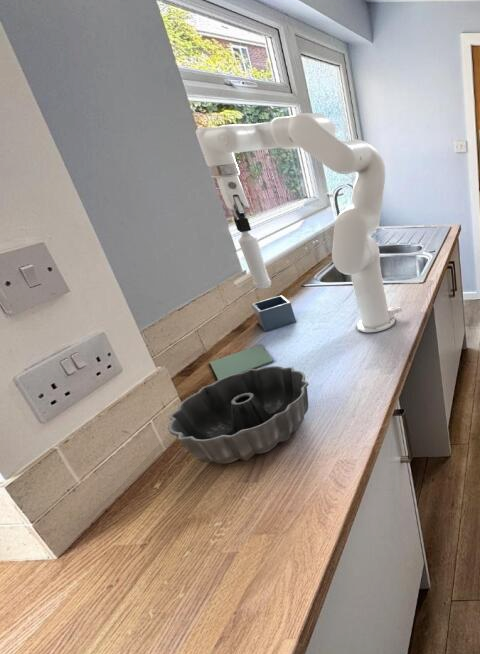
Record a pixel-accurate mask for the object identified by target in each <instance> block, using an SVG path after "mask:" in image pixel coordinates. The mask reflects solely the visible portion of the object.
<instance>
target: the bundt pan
mask: <svg viewBox="0 0 480 654" xmlns="http://www.w3.org/2000/svg"><path fill="white" fill-rule="evenodd" d="M309 385H310V384H309V382H308V381H307V380H306V374H305V373H304V372H303V371H301V370H295V369H294V367H293V366H289V367H283V366H278V365H272V366H265V367H264V366H263V367H259V368H256V369H249V370H247V371H245V372H243V373H237V374H233V375H230V376H227V377H224V378H222V379H220V380H218V379H217V380H216V381H215V382H213V383H211V384H208V385H205V386H202V387H201V388H200V389H199V390H198V392H196V393H193V394H191V395H190V396H188V397H186V398H185V399H184V400H183V401H182V402H180V404H179V405H178V407H177V410H176V411H174V412H172V414H170V415H169V416H168V418H169V420H170V423H168V426H167V430H168V432H169V433H170V434H171V435H172V436H175V437H176V438H177V439H178V441H179V442H180V443H181V444H182V446H184V448H185V449H186V450H187V451H188V452H189V453H190V454H192V455H193V456H194V457H195V459H196V460H198V461H199V462H202V463H212V462H213V463H217V464H229V463H233V462H235V461H237V460H239V459H240V460H242V461H249V460H250V459H251V458H253V456H255V455H256V454H264V453H267V452H269V451H271V450H272V449H274V448H275V447H276V446H277V445H278V443H280V442H281V443H282V442H286V441H289V439H290V437H291V435H292V433H293V432H295V431H296V430H298V429H299V428H300V427H301V425H302V423H303V421H304V419H305V415H306V414H307V412H308V410H309V395H308V386H309Z"/></svg>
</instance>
